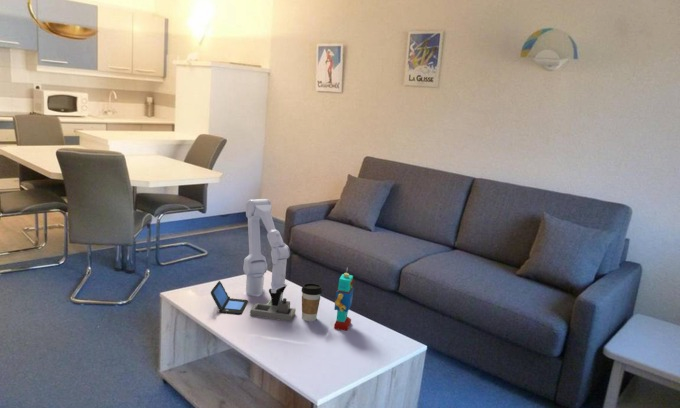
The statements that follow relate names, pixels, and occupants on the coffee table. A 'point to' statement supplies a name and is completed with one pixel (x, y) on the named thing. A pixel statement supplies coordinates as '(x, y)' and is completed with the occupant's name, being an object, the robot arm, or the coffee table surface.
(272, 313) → the power strip
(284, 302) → the twin plug
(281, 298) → the plug
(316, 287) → the coffee cup
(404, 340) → the coffee table surface
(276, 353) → the coffee table surface
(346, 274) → the toy robot
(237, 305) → the handheld game console
